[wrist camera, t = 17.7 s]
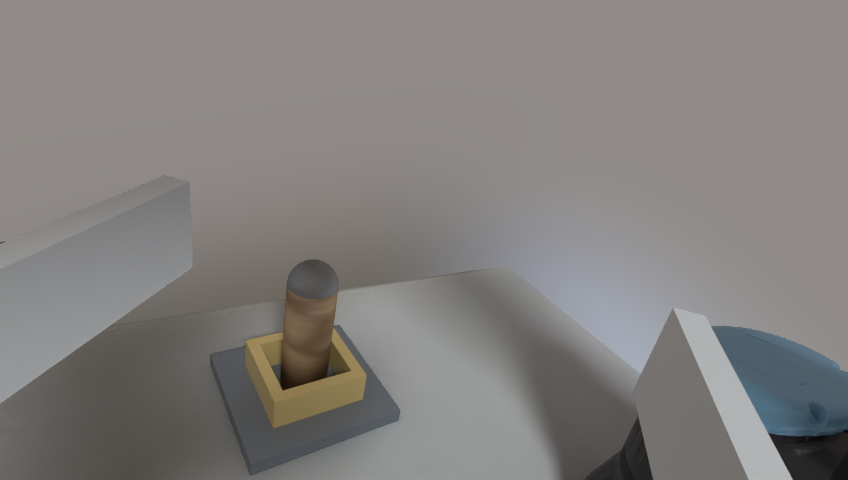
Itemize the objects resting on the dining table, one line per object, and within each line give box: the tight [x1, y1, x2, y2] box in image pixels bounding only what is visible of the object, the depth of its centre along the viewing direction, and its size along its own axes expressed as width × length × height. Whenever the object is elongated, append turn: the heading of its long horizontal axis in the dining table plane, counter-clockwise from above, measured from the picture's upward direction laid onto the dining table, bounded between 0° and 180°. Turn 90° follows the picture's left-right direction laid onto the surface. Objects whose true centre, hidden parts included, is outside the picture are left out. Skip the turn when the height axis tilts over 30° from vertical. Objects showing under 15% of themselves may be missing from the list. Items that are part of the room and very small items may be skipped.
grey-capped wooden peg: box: [280, 260, 338, 390], centre depth 51 cm, size 5×5×16 cm
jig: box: [210, 325, 400, 475], centre depth 55 cm, size 16×16×5 cm
